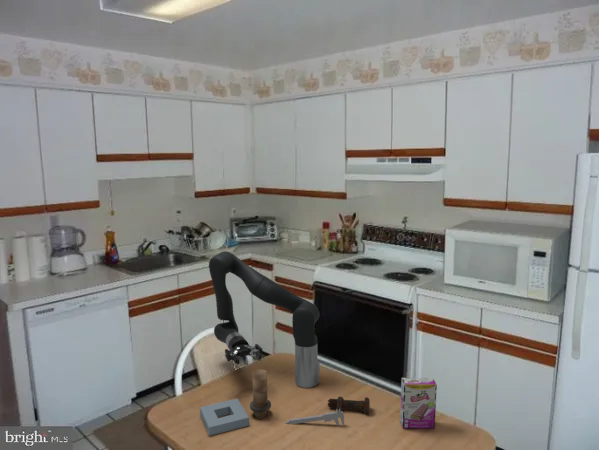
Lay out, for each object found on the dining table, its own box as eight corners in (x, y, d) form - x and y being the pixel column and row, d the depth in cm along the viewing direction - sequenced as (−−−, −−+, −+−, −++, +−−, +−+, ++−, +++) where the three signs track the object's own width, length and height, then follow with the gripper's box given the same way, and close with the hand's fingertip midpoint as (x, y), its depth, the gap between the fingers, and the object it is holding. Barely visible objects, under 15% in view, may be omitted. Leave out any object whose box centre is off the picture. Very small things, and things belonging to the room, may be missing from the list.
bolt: (329, 411, 168) (369, 414, 165) (326, 411, 164) (368, 414, 160) (329, 394, 171) (369, 397, 167) (327, 394, 166) (368, 397, 162)
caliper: (344, 425, 157) (344, 408, 156) (344, 426, 155) (344, 409, 155) (285, 422, 158) (285, 406, 158) (285, 424, 157) (285, 407, 156)
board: (237, 405, 169) (237, 398, 169) (249, 425, 157) (249, 417, 156) (200, 414, 163) (199, 407, 163) (209, 435, 151) (208, 427, 150)
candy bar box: (402, 429, 153) (403, 384, 151) (399, 421, 158) (400, 377, 156) (435, 429, 153) (437, 384, 151) (431, 421, 158) (433, 377, 156)
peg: (266, 406, 168) (265, 366, 166) (274, 416, 162) (273, 374, 159) (247, 411, 165) (246, 370, 163) (254, 422, 159) (252, 379, 156)
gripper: (219, 338, 182) (230, 353, 168) (253, 332, 188) (266, 347, 174) (220, 355, 184) (231, 372, 169) (253, 349, 189) (266, 365, 175)
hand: (249, 359), depth 171 cm, fingers open, 8 cm apart
